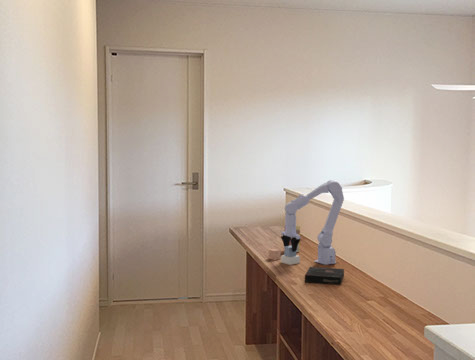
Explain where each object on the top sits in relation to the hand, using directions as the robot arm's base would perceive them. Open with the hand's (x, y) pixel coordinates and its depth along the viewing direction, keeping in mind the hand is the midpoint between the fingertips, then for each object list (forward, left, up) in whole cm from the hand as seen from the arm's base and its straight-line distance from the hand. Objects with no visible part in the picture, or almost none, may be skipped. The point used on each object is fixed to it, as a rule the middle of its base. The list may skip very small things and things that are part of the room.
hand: (290, 250), depth 301 cm
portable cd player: (-36, +6, -7) cm, 37 cm away
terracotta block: (+12, +2, -7) cm, 14 cm away
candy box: (+23, -18, -7) cm, 30 cm away
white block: (0, 0, -7) cm, 7 cm away
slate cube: (0, 0, -3) cm, 3 cm away
